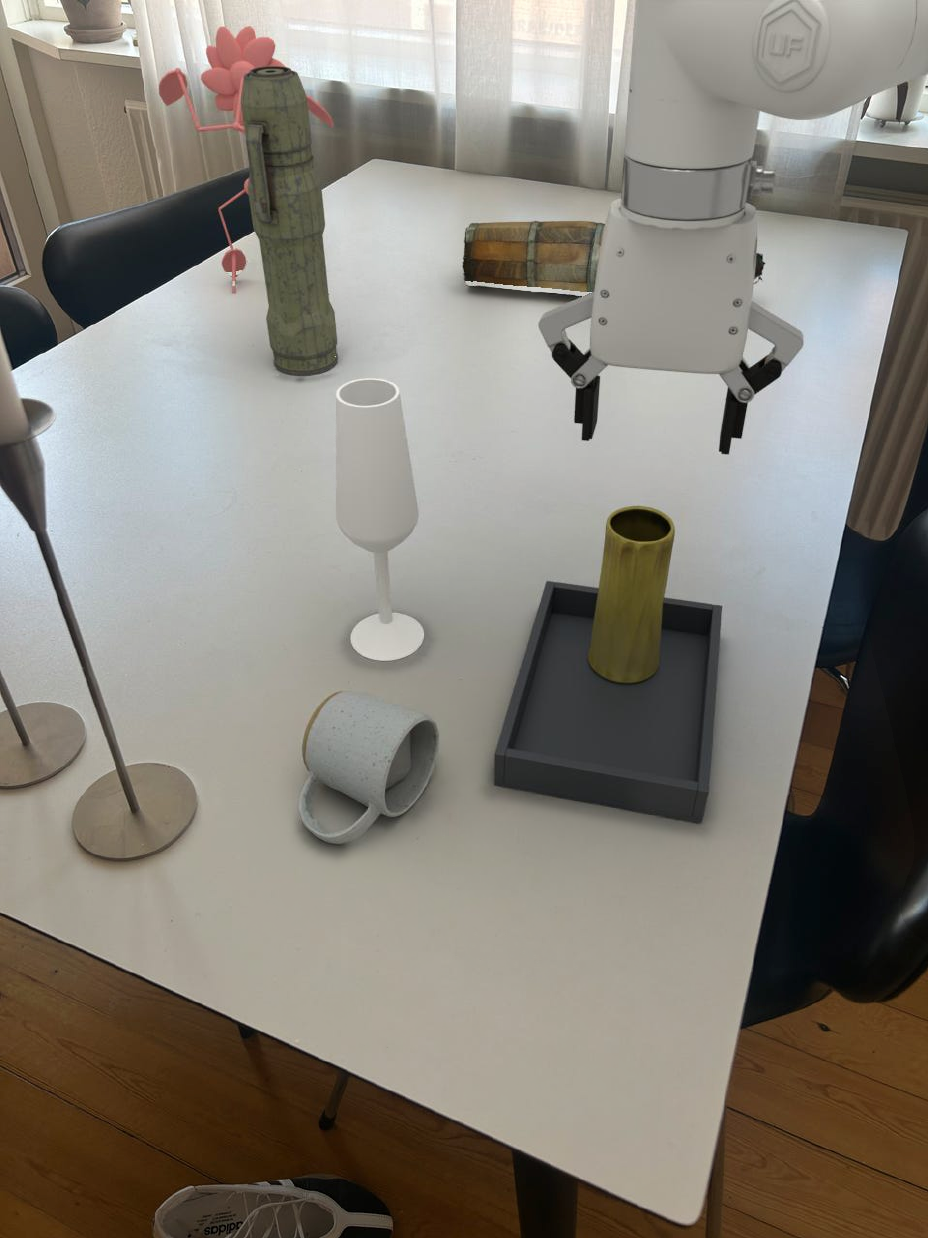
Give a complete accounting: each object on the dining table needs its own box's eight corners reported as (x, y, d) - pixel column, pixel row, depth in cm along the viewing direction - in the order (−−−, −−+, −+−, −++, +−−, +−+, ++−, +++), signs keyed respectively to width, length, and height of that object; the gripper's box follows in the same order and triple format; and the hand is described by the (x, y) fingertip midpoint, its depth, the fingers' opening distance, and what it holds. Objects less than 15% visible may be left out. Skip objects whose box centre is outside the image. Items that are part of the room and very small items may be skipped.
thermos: (351, 346, 135) (326, 61, 112) (321, 383, 126) (286, 82, 103) (292, 340, 136) (255, 58, 114) (258, 376, 128) (211, 79, 105)
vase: (642, 694, 80) (663, 555, 71) (575, 669, 83) (587, 532, 73) (669, 651, 84) (692, 515, 75) (604, 629, 87) (619, 494, 77)
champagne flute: (420, 609, 90) (408, 369, 75) (428, 656, 85) (417, 410, 70) (348, 616, 89) (321, 375, 74) (352, 664, 84) (323, 417, 69)
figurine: (341, 301, 147) (315, 36, 125) (181, 292, 151) (128, 33, 128) (365, 265, 159) (346, 17, 136) (216, 257, 162) (174, 14, 140)
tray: (716, 636, 87) (722, 605, 84) (701, 824, 71) (708, 792, 68) (544, 610, 90) (546, 580, 87) (493, 785, 74) (494, 753, 71)
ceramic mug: (355, 731, 78) (346, 661, 73) (443, 768, 75) (439, 698, 70) (275, 824, 71) (258, 755, 66) (367, 869, 68) (357, 800, 63)
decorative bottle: (453, 280, 145) (762, 303, 135) (460, 206, 143) (775, 224, 133) (469, 293, 155) (757, 315, 146) (476, 223, 153) (769, 241, 144)
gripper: (831, 175, 60) (780, 425, 70) (554, 164, 63) (546, 404, 74) (836, 211, 54) (780, 477, 65) (532, 197, 57) (527, 452, 68)
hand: (655, 438), depth 69 cm, fingers open, 9 cm apart
